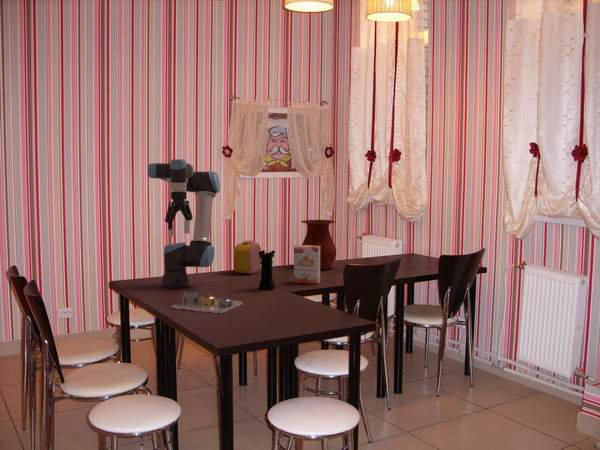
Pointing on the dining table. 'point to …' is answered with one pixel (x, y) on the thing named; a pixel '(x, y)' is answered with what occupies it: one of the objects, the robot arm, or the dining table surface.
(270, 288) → the chess piece
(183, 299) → the gear
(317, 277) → the cracker box
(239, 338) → the dining table surface
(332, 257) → the vase
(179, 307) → the carrier
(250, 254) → the lunch box
